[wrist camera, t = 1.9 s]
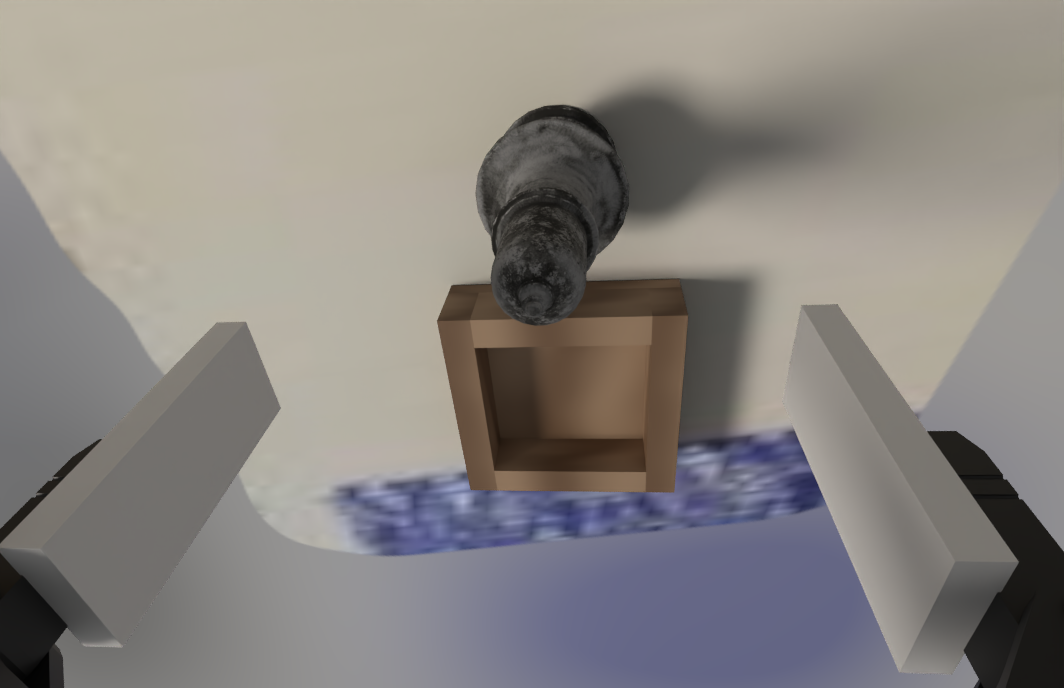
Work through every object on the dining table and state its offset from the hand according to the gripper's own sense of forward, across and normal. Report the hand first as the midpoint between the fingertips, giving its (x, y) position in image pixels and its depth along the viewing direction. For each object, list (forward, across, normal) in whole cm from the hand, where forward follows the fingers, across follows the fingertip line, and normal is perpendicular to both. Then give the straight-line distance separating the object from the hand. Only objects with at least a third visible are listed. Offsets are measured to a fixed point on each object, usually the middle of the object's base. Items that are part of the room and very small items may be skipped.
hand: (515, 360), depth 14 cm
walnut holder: (+14, 0, -11) cm, 18 cm away
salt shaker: (+14, 0, 0) cm, 14 cm away
